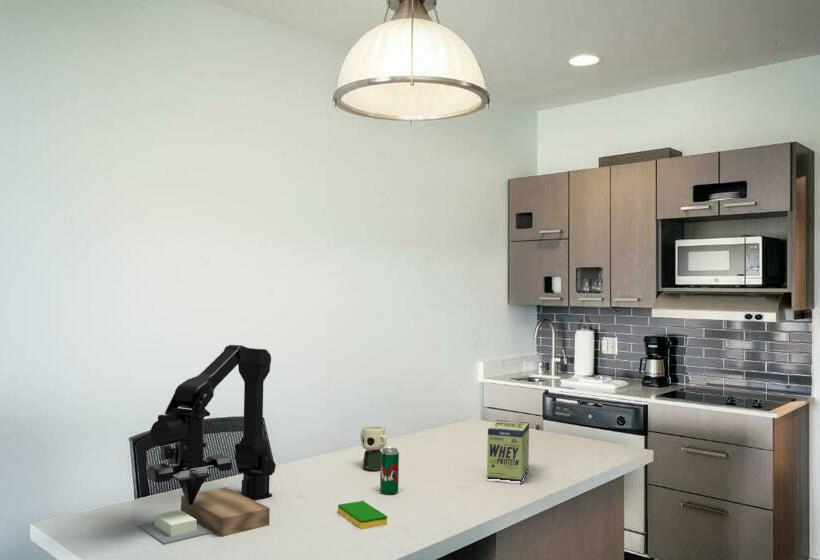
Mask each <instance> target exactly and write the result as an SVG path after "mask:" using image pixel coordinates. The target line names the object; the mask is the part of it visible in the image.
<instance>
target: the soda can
mask: <svg viewBox="0 0 820 560" xmlns="http://www.w3.org/2000/svg"><path fill="white" fill-rule="evenodd" d="M399 463H400V452H399V451H398V448H397V447H391V446H390V447H384V448H382V449H381V467H380V472H379V473H380V474H379V475H380V476H379V477H380V478H379V479H380V480H379V481H380V483H379V491H380V492H381V494H383V495H386V494H392V495H395V493H396V494H397V493H398V492H399V485H400V484H399V481H400V480H399V479H400V478H399V477H400V476H399V475H400V474H399V473H400V471H399V470H400V464H399Z"/></svg>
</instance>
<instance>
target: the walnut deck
mask: <svg viewBox="0 0 820 560" xmlns="http://www.w3.org/2000/svg"><path fill="white" fill-rule="evenodd" d="M270 509H271V508H270V506H266V505H264V504H262V503H260V502H258V501H256V500H252V499H250V498H247V497H245V496H243V495H241V494H240V492H236V491H235V490H232V489H230V488H228V487H219V488H215V489H209V490H205V491H199V492H198V494H197V496H196V498H195V500H194V502H193V504H192V505H188V504H187V502H186V499H185V496H184V494H183V495H181V496H180V510H181V511H183V512H184V513H186V514H188V515H190V516H191V517H193V518H195V519H197V523H198V524H199V525H200V524H201V526H203V527H206V529H208V530H211V532H214V533H216V534H217V535H219V536H222V537H225V536H230V535H234V534H238V533H242V532H243V533H244V532H246V531H250V530H255V529H258V528H259V529H260V528H262V527H267V526H270V514H271V513H270V512H271V511H270Z"/></svg>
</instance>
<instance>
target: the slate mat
mask: <svg viewBox="0 0 820 560" xmlns="http://www.w3.org/2000/svg"><path fill="white" fill-rule="evenodd" d="M137 528H140V529H141V530H143V531H144V532H145V533H147V534H148V535H149V536H151V537H152V538H154V539H155V540H156V541H158V542H160V543H161V544H163V545H167V544H168V545H169V544H173V543H176V542H180V541H185V540H188V539H193V538H197V537H201V536H205V535H209V534H212V530H211V531H210V529H208V528H207V527H206V528H205V526H203V525H202V524H201V525H200V523H197V531H193V532H188V533H184V534H180V535H176V536H172V537H171V536H169V535H168V534H166V533H165V532H163V531H162V530H160V529H159V528H157V527H156V526H155V520H154V521H151V522H146V523H141V524H137Z"/></svg>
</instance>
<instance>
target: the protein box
mask: <svg viewBox="0 0 820 560" xmlns="http://www.w3.org/2000/svg"><path fill="white" fill-rule="evenodd" d="M529 441H530V422H524V421H511V420H503V419H502V420H500V419H497V420H496V421H495V422H494V423H492V424H491V425H490V427H489V428H487V452H486V453H487V455H486V456H487V457H486V459H487V460H486V462H487V463H486V464H487V466H486V471H487V472H486V479H487V478H488V479H500V480H510V481H520V482H522V480H523V478H524V476H525V475H526V473H527V471H528V472H529V462H530V461H529V459H530V458H529V455H530V452H529V451H530V449H529V448H530V443H529ZM527 474H528V473H527ZM526 476H527V475H526ZM523 481H524V480H523ZM522 483H523V482H522Z"/></svg>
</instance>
